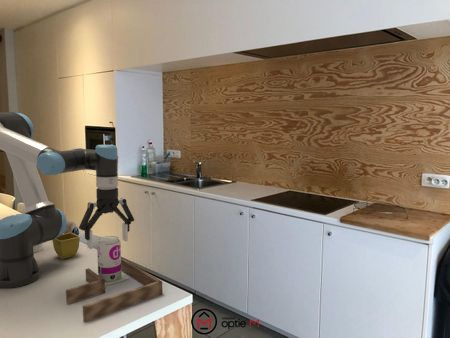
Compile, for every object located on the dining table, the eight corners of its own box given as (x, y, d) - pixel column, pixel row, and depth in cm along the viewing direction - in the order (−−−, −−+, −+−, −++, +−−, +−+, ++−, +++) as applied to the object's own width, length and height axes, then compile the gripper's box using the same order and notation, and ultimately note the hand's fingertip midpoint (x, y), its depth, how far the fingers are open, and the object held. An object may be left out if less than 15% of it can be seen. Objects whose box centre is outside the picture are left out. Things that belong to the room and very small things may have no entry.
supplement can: (126, 276, 138) (124, 237, 136) (108, 284, 131) (107, 243, 129) (111, 271, 143) (110, 234, 141) (93, 279, 136) (92, 239, 134)
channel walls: (84, 322, 107) (84, 307, 106) (53, 290, 127) (52, 277, 127) (162, 293, 125) (162, 281, 124) (124, 269, 145) (123, 258, 144)
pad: (103, 286, 130) (103, 286, 130) (92, 278, 137) (92, 278, 136) (129, 278, 137) (129, 278, 137) (118, 271, 143) (117, 270, 143)
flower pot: (81, 256, 159) (80, 236, 158) (61, 261, 153) (59, 241, 152) (72, 251, 165) (71, 232, 164) (52, 256, 159) (51, 236, 158)
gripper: (76, 193, 122) (78, 254, 124) (143, 185, 138) (143, 239, 141) (68, 189, 127) (70, 248, 130) (133, 182, 144) (133, 235, 147)
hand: (108, 244), depth 135 cm, fingers open, 13 cm apart
